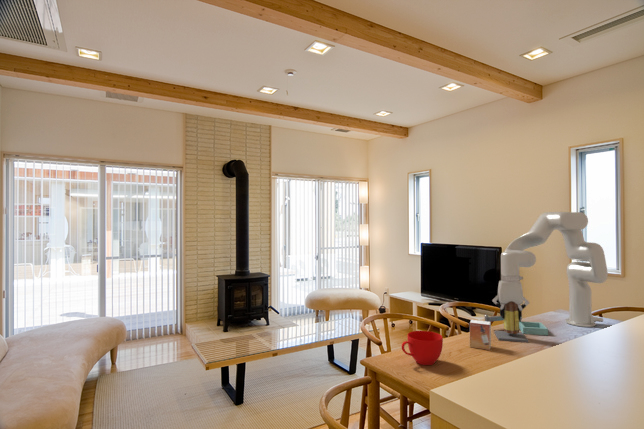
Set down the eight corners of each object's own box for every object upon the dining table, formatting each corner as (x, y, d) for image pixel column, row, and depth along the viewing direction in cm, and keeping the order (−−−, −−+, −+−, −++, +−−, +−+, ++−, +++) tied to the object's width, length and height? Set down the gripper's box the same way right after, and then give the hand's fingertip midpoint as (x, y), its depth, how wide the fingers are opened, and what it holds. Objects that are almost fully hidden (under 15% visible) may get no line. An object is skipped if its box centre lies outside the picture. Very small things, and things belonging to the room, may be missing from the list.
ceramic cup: (392, 360, 146) (392, 334, 146) (427, 354, 153) (427, 329, 153) (413, 372, 134) (413, 344, 134) (450, 365, 141) (450, 338, 141)
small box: (469, 347, 161) (469, 322, 161) (471, 343, 166) (470, 319, 166) (490, 350, 157) (489, 324, 157) (491, 346, 162) (490, 321, 162)
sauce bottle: (515, 330, 177) (515, 287, 177) (521, 334, 171) (521, 290, 171) (501, 330, 177) (501, 287, 177) (506, 334, 171) (506, 290, 171)
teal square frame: (539, 327, 189) (539, 320, 189) (548, 335, 176) (547, 327, 176) (514, 325, 192) (514, 318, 192) (520, 333, 179) (520, 325, 179)
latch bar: (523, 319, 189) (523, 313, 189) (487, 322, 184) (487, 316, 184) (518, 317, 193) (518, 311, 193) (482, 320, 188) (482, 314, 188)
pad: (522, 334, 178) (521, 332, 178) (528, 342, 166) (528, 340, 166) (494, 332, 181) (494, 330, 181) (498, 340, 170) (498, 338, 170)
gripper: (528, 278, 175) (529, 317, 175) (488, 276, 180) (489, 315, 180) (533, 280, 168) (534, 321, 168) (491, 279, 173) (491, 319, 173)
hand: (510, 317), depth 174 cm, fingers closed on sauce bottle, 6 cm apart
